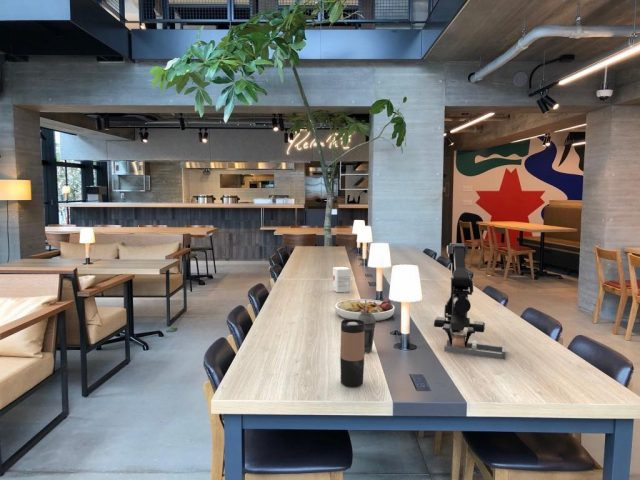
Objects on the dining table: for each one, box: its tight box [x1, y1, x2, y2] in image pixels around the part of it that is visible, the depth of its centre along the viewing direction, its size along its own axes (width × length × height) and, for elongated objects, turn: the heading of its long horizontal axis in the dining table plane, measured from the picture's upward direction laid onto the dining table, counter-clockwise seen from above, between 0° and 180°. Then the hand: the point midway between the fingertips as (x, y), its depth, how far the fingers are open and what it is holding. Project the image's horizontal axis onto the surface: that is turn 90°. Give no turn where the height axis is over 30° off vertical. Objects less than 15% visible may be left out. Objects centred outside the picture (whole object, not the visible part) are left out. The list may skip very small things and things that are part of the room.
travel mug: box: [339, 319, 365, 388], centre depth 144 cm, size 8×8×20 cm
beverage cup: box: [358, 300, 377, 354], centre depth 174 cm, size 7×7×20 cm
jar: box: [452, 332, 467, 348], centre depth 178 cm, size 5×5×6 cm
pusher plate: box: [471, 340, 478, 350], centre depth 176 cm, size 6×2×3 cm, turn 157°
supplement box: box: [332, 266, 351, 293], centre depth 286 cm, size 9×9×15 cm
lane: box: [443, 338, 507, 360], centre depth 176 cm, size 9×22×3 cm, turn 67°
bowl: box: [334, 298, 396, 322], centre depth 229 cm, size 30×30×8 cm
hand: (458, 345), depth 178 cm, fingers closed on jar, 5 cm apart
